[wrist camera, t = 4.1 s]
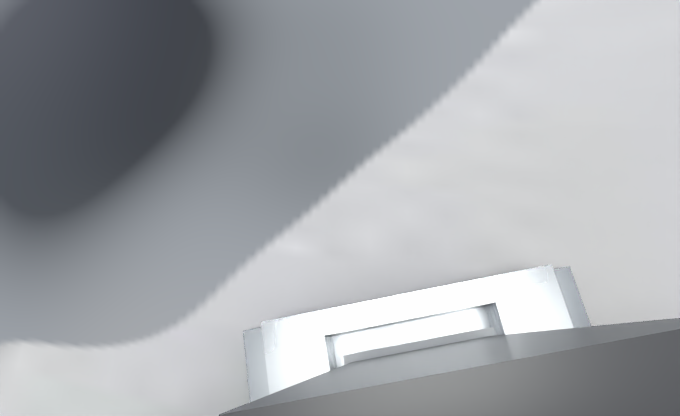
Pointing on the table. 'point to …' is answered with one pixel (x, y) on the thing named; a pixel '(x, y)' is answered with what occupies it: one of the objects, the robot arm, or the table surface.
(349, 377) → the tall gray pillar
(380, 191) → the table surface
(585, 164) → the table surface
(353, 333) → the slot rail
